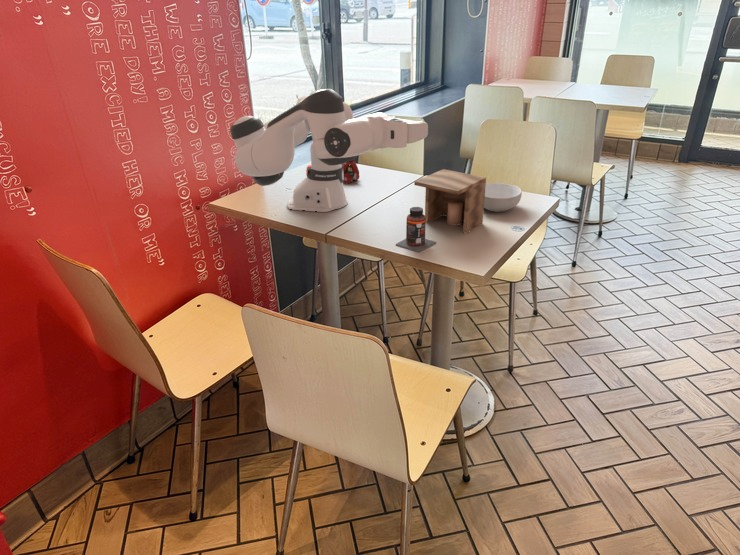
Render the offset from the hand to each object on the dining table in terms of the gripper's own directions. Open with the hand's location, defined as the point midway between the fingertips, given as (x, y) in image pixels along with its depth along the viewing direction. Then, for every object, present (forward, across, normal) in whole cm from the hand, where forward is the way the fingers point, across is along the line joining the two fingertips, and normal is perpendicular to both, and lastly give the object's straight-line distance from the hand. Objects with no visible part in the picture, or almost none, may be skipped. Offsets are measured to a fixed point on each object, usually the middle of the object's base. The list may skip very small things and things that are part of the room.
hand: (408, 121), depth 149 cm
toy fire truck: (+41, -62, -39) cm, 84 cm away
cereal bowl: (+49, +4, -39) cm, 63 cm away
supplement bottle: (+5, 0, -38) cm, 39 cm away
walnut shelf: (+24, 0, -38) cm, 45 cm away
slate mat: (+5, 0, -39) cm, 39 cm away
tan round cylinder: (+28, 0, -39) cm, 48 cm away
